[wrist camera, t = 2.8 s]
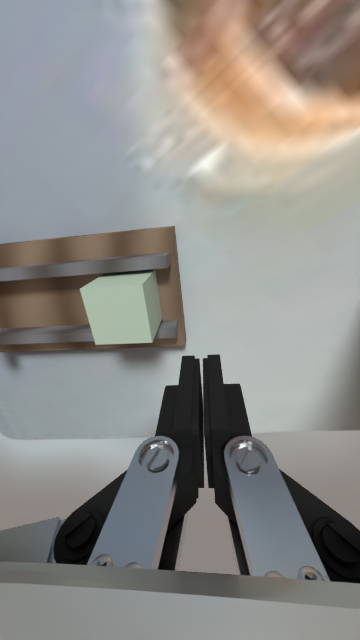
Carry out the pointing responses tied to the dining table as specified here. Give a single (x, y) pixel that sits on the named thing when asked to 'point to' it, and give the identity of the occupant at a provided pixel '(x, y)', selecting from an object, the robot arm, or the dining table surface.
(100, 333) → the pale green cube
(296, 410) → the dining table surface
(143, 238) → the track
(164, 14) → the dining table surface
